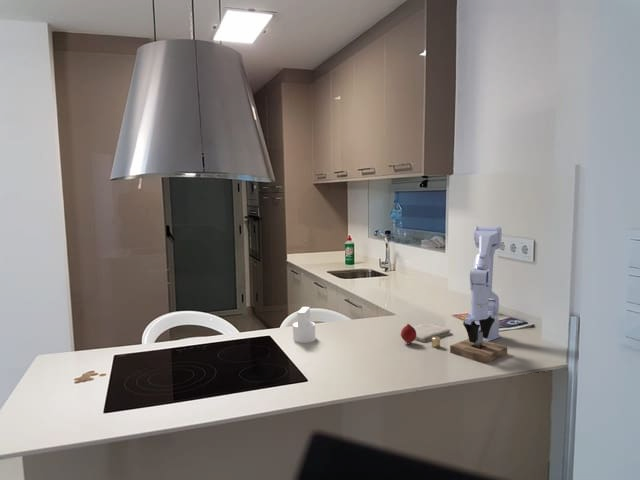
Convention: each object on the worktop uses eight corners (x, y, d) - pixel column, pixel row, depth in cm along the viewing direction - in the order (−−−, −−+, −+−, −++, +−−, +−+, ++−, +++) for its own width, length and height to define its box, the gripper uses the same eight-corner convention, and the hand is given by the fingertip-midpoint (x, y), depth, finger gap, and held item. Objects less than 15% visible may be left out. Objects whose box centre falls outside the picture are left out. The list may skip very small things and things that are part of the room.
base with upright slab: (312, 343, 174) (312, 313, 173) (290, 342, 176) (289, 312, 174) (317, 335, 183) (317, 307, 181) (296, 334, 185) (295, 306, 183)
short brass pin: (435, 344, 170) (435, 336, 169) (441, 347, 167) (441, 337, 167) (430, 346, 168) (430, 337, 168) (436, 348, 166) (436, 339, 165)
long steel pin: (476, 350, 163) (477, 329, 162) (484, 353, 160) (484, 331, 159) (471, 352, 161) (472, 331, 160) (478, 355, 159) (479, 333, 158)
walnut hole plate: (472, 343, 170) (472, 337, 170) (507, 353, 159) (507, 347, 159) (450, 352, 162) (450, 345, 161) (485, 363, 151) (485, 356, 150)
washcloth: (452, 334, 183) (452, 327, 182) (423, 344, 172) (423, 336, 172) (429, 327, 192) (429, 320, 192) (400, 336, 182) (400, 329, 181)
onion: (416, 341, 174) (416, 321, 173) (415, 346, 168) (415, 326, 167) (401, 340, 175) (401, 320, 174) (400, 345, 170) (400, 325, 169)
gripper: (480, 297, 166) (480, 332, 168) (457, 304, 157) (457, 341, 159) (498, 300, 161) (497, 337, 162) (475, 308, 152) (474, 346, 153)
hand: (478, 339), depth 160 cm, fingers open, 7 cm apart
